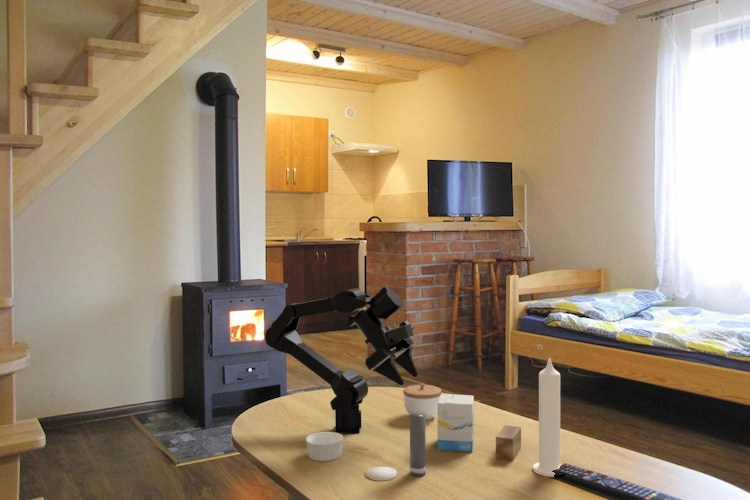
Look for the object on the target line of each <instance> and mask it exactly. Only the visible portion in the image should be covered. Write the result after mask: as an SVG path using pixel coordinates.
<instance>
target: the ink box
mask: <svg viewBox="0 0 750 500" xmlns="http://www.w3.org/2000/svg"><path fill="white" fill-rule="evenodd" d="M474 397H475V396H474V395H468V394H455V393H454V394H453V393H448V394H443V393H441V396H440V398H439V401H438V412H437V450H439V451H448V452H449V451H451V452H452V451H453V452H469V453H472V452H473V449H474V448H473V446H474V441H475V440H474V438H475V435H474V434H475V432H474V431H475V429H474V427H475V423H474V422H475V421H474V420H475V418H474V417H475V414H474V413H475V411H474V409H475V408H474Z"/></svg>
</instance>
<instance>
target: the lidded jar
mask: <svg viewBox="0 0 750 500" xmlns="http://www.w3.org/2000/svg"><path fill="white" fill-rule="evenodd" d="M402 391H403V393H402V394H403V403H404V407H405V409H406V410H405V411H407V413H408V414H409V415H410V414H411V413H424V414H425V421H428V420H431V419H433V418H434V416H435V415H437V414H438V401H439V398H440V396H441V394H442V389H441V387H438V386H435V385H430V384H429V385H427V384H425V383H420V384H414V385H409V386H405V387H404V388H403V390H402Z"/></svg>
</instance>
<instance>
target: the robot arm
mask: <svg viewBox="0 0 750 500" xmlns="http://www.w3.org/2000/svg"><path fill="white" fill-rule="evenodd" d="M367 307H368V308H367ZM402 307H404V302H403V299H402V298H401V297H400V295H399V294H397V293H396V292H395V291H394V290H392V289H390V287H389V286H388V285H386V286H383V287H382V288H380V290H379V292H377V293H376V294H375V295H373V296H372V295H370V294H367V293H365V292H364V291H363V290H362V289H361V288H352V289H347V290H343V291H341V292H339V293H336V294H334V295H332V296H329V297H326V298H321V299H316V300H315V299H314V300H310V301H305V302H300V303H299V302H294V303H290V304H287V305H285V306H284V308H283V310H282V312H281V313H280V314H279V315H278V317H277V318H276V319H275V320H274V321H273V322H272V324H271V325H270V327H269V328H268V329H267V330H266V331H265V333H264V339H265V340H264V341H265V344H266V345H267V346H268V347H269V348H271V349H273V350H275V351H278V352H280V353H283V354H287V355H290V356H292V357H293V358H294V359H296V361H298V362H299V363H300V364H303V366H305V367H306V368H307V369H308V370H310V371H311V372H313V373H314V374H315V375H316V376H318V377H319V378H321V379H322V380H323V381H325V382H326V383H327V384H328V385H329V386H330V387H331V390H332V391H333V394H334V395H335V397H334V398H333V399H332V400H330V401H329V403H330V407H331V410H333V411H334V412H335V414H334V415H335V416H334V417H335V421H334V422H335V423H334V424H335V425H334V426H335V427H334V432H335V433H339V434H358V433H360V431H361V429H362V410H360V405H361V404H362V403H363V400H364V398H366V396H367V395H368V393H369V386H368V383H367V381H366V380H365V379H364V378H365V376H364V375H361V374H359V373H357V371H356V370H355V369H352V368H350V369H349V370H346V371H344V370H341V369H340V368H338V367H337V366H336V365H334V364H333V363H332V362H331V361H329V360H328V359H326V358H325V357H324V356H323V355H321V354H319V353H318V352H317V351H316V350H314V349H312V347H310V346H308V345H307V344H306V343H305V342H304V341H303V340H302V339H301V337H300V335H299V333H298V332H297V329H298V327H299V326H300V325H299V324H300V320H301V318H302V317H306V316H311V315H319V314H322V313H323V314H324V313H328V312H330V313H331V312H333V313H342V314H343V313H344V314H345V313H346V314H347V313H353V312H356V311H358V312H357V313H355V314H351V315H348V323H347V327H353V326H354V325H356V326H357V327H358V329H359V330H360V332H361V333H362V335H363V336H364V337H365V339H366V340H364V342H365V344H366V345H369V344H370V346H371V347H372V349H373V350H374V351H373V352H372V354H370V355H369V356H367V357H366V358H365V363H364V364H365V367H366V368H367V369H368V370H369V371H371V370H372V371H373V372H374V373H377V374H379V375H381V376H383V377H386V378H387V379H389V380H390V381H392V382H394V383H396V384H397V385H399V386H403V385H404V384H405V382H404V381H405V380H404V379H403V377H402V375H401V374H400V372H399V371H398V369H397V367H396V365H395V363H396V364H397V365H399V366H400V367H401V368H402V369H404V370H405V371H406V372H407V373H408V374H409V375H411V376H412V377H414V378H416V377H418V375H419V373H418V371H417V368H416V366H415V362H414V359H413V356H412V352H413V349H414V345H415V343H414V340H412V338H411V337H414V336H415V334H414V331H413V330H414V329H415V327H414V326H413V325H412V323H410V322H409V321H408V320H405V321H402V322H400V323H399V326H398V327H395V328H392V327H391V326H390V325H385V324H384V323H383V321H382V320H388V319H389V318H391V317H392V316H393V315H394V314H395V313H396V312H398V311H399V310H400V309H401V308H402ZM364 308H366V309H364ZM381 319H382V320H381Z"/></svg>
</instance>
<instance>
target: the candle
mask: <svg viewBox="0 0 750 500" xmlns="http://www.w3.org/2000/svg"><path fill="white" fill-rule="evenodd" d="M561 465H562V463H561V373H560V372H559V371H558V370H556V369H555V368H554V366H553V362H552V358H550V357H548V360H547V363H546V367H545V368H543V369H542V370H541V371H539V373H538V462H535V463H533V465H532V471H533V472H534V473H535V474H538V475H539V476H542V477H549V478H555V477H554V475H555V473H554V472H552V471H553V470H556V469H559V468H560V466H561Z"/></svg>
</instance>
